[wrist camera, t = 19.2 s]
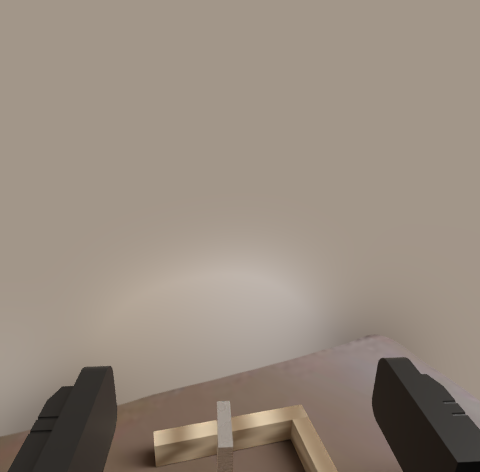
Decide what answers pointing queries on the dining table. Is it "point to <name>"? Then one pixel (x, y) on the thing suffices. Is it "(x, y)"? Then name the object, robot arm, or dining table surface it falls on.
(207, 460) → the dining table surface
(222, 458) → the bracket
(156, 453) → the wooden l-shaped corner
